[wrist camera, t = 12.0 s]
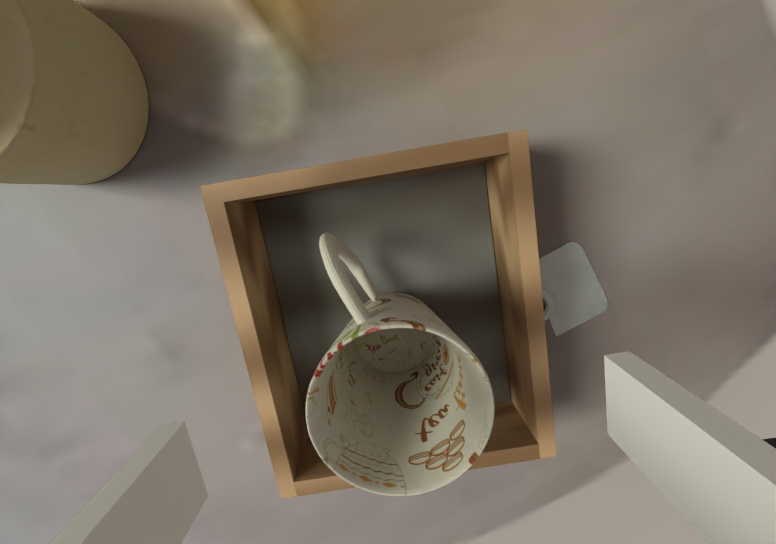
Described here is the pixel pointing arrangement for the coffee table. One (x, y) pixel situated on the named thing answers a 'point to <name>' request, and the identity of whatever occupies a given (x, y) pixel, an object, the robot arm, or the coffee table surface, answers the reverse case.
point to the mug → (395, 391)
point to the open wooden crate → (389, 281)
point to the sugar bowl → (66, 95)
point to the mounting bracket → (570, 288)
